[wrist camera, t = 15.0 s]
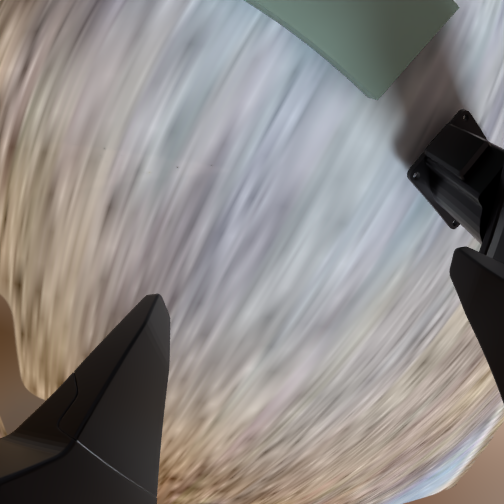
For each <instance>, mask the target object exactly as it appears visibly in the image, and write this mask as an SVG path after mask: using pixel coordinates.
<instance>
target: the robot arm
mask: <svg viewBox="0 0 504 504" xmlns="http://www.w3.org/2000/svg"><path fill="white" fill-rule="evenodd" d="M464 115H465V119H463V116H464ZM416 172H417V175H416V177H414V178H413V175H414V173H416ZM407 177H408V179H409V180H410V181H411V182H412V183H413V185H414V186H415V187H416V188H417V189H418V190H419V191H420V192H421V194H422V195H423V196H424V197H425V198H426V199H427V201H428V202H429V203H430V204H431V205H432V206H433V208H434V209H435V210H436V211H437V212H438V214H439V215H440V216H441V217H442V219H443V220H444V221H445V222H446V224H447V225H448V226H449V227H450V228H451V229H456V228H457V227H458V226H459V225H460V224H461V225H462V226H463V227H464V228H465V229H466V230H467V231H468V232H469V233H470V234H471V235H472V236H473V237H474V238H475V239H476V240H477V241H478V242H479V243H480V244H481V248H480V251H479V252H477V251H475V250H473V249H471V248H469V247H460V248H457V249H455V251H454V253H453V258H452V262H451V266H450V277H451V279H452V282H453V284H454V287H455V289H456V291H457V294H458V296H459V299H460V301H461V304H462V306H463V309H464V311H465V314H466V316H467V318H468V320H469V322H470V324H471V326H472V329H473V331H474V333H475V335H476V337H477V339H478V341H479V344H480V346H481V348H482V350H483V353H484V355H485V357H486V359H487V362H488V364H489V367H490V369H491V371H492V374H493V376H494V379H495V382H496V384H497V387H498V389H499V392H500V395H501V397H502V400H503V403H504V149H502V148H500V147H498V146H496V145H494V144H492V143H490V142H489V141H488V140H487V139H486V137H485V136H484V134H483V132H482V131H481V129H480V128H479V126H478V124H477V123H476V121H475V120H474V118H473V117H472V115H471V114H470V112H469V111H466V110H464V109H461V110H460V111H458V113H457V114H456V115H455V116H454V118H453V119H452V120H451V121H450V122H449V124H447V125H446V126H445V127H444V128H443V129H442V131H441V132H440V133H439V134H438V135H437V136H436V138H435V139H434V140H433V141H432V142H431V143H430V145H429V146H428V147H427V148H426V149H425V152H424V153H423V154H422V155H421V156H420V158H419V159H418V160H417V161H416V162H415V163H414V164H413V165H412V167H411V168H410V169H409V170H408V173H407ZM454 220H455V221H454ZM453 221H454V223H453ZM169 361H170V316H169V313H168V310H167V308H166V306H165V303H164V301H163V298H162V296H161V295H160V294H151V295H146V296H145V297H144V298H143V299H142V300H141V301H140V302H139V303H138V304H137V305H136V306H135V307H134V308H133V309H132V310H131V311H130V312H129V313H128V314H127V316H126V317H125V318H124V319H123V320H122V321H121V322H120V323H119V324H118V325H117V326H116V327H115V328H114V329H113V330H112V331H111V332H110V333H109V334H108V335H107V336H106V337H105V339H104V340H103V341H102V342H101V343H100V344H99V345H98V346H97V347H96V348H95V349H94V350H93V351H92V352H91V353H90V355H89V356H88V357H87V358H86V359H85V360H84V361H83V362H82V363H81V364H80V365H79V366H78V368H77V369H76V370H75V371H74V372H75V373H72V374H71V375H70V376H69V377H68V378H67V380H66V381H65V382H64V383H63V384H62V385H61V386H60V387H59V388H58V389H57V390H56V391H55V392H54V393H53V394H52V395H51V396H50V397H49V398H48V399H47V400H46V401H45V402H44V403H43V404H42V405H41V406H40V407H39V408H38V409H37V410H36V411H35V412H34V413H33V414H32V415H31V416H30V417H28V419H26V420H25V421H24V422H23V423H22V424H21V425H20V426H19V427H18V428H17V429H16V430H15V431H14V432H12V433H11V434H9V435H7V436H5V437H3V438H0V504H157V488H158V473H159V460H160V448H161V437H162V427H163V417H164V408H165V399H166V391H167V382H168V375H169Z"/></svg>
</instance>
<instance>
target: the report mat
mask: <svg viewBox="0 0 504 504" xmlns="http://www.w3.org/2000/svg"><path fill="white" fill-rule="evenodd" d="M244 1H246V2H248V3H249V4H251V5H252V6H254V7H255V8H257V9H259V10H260V11H262V12H263V13H265V14H266V15H268V16H269V17H270V18H272V19H273V20H275V21H276V22H278V23H279V24H280V25H282V26H283V27H285V28H286V29H287V30H289V31H290V32H292V33H293V34H294V35H296V36H297V37H298V38H300V39H301V40H302V41H303V42H305V43H306V44H307V45H309V46H310V47H311V48H312V49H314V50H315V51H316V52H317V53H319V54H320V55H321V56H322V57H323V58H325V59H326V60H327V61H328V62H329V63H331V64H332V65H333V66H334V67H335V68H336V69H338V70H339V71H340V72H341V73H342V74H343V75H344V76H346V77H347V78H348V79H349V80H350V81H351V82H352V83H353V84H354V85H355V86H357V87H358V88H359V89H360V90H361V91H362V92H363V93H364V94H365V95H366V96H367V97H369V98H372V99H375V100H378V99H379V98H380V97H381V96H382V95H383V94H384V92H385V91H386V90H387V89H388V88H389V87H390V86H391V84H392V83H393V82H394V81H395V80H396V79H397V78H398V76H399V75H400V74H401V73H402V72H403V71H404V70H405V69H406V67H407V66H408V65H409V64H410V63H411V62H412V61H413V59H414V58H415V57H416V56H417V55H418V54H419V53H420V52H421V50H422V49H423V48H424V47H425V46H426V45H427V44H428V42H429V41H430V40H431V39H432V38H433V37H434V36H435V35H436V33H437V32H438V31H439V30H440V29H441V28H442V27H443V25H444V24H445V23H446V22H447V21H448V20H449V19H450V18H451V16H452V15H453V14H454V13H455V12H456V11H457V10H458V9H459V7H458V5H457V4H456V3H455V2H454V1H453V0H244Z"/></svg>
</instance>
